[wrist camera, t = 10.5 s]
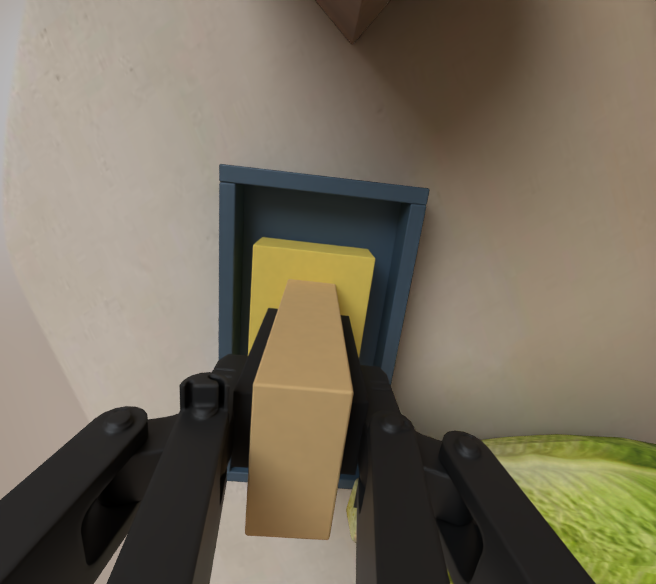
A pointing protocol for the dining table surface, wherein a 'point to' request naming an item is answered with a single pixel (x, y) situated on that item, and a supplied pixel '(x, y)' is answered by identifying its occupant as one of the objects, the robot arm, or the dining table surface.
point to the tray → (324, 228)
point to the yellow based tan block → (302, 382)
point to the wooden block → (352, 15)
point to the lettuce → (586, 498)
